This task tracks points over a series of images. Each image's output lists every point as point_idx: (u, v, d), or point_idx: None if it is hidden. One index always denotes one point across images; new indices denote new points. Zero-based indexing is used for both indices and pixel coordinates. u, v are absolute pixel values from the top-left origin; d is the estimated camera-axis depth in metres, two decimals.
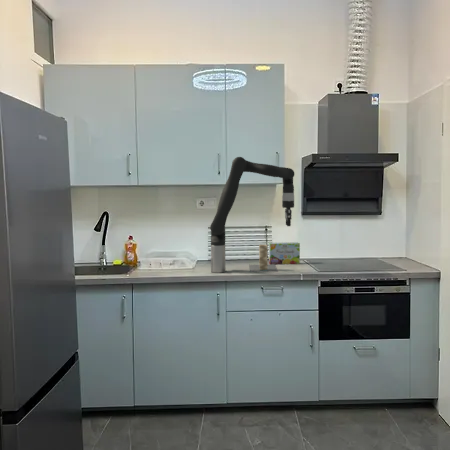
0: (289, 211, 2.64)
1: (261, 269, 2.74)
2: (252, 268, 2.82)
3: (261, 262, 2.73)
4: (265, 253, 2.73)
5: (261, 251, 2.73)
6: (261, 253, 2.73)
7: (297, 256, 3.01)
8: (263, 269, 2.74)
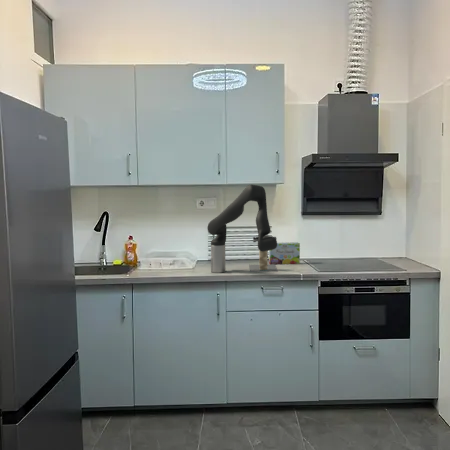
0: (253, 240, 2.55)
1: (261, 269, 2.74)
2: (252, 268, 2.82)
3: (261, 262, 2.73)
4: (265, 253, 2.73)
5: (261, 251, 2.73)
6: (261, 253, 2.73)
7: (297, 256, 3.01)
8: (263, 269, 2.74)
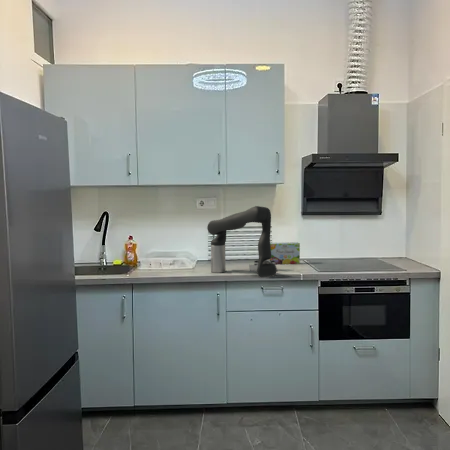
0: None
1: None
2: (252, 268, 2.82)
3: None
4: None
5: None
6: None
7: (297, 256, 3.01)
8: None
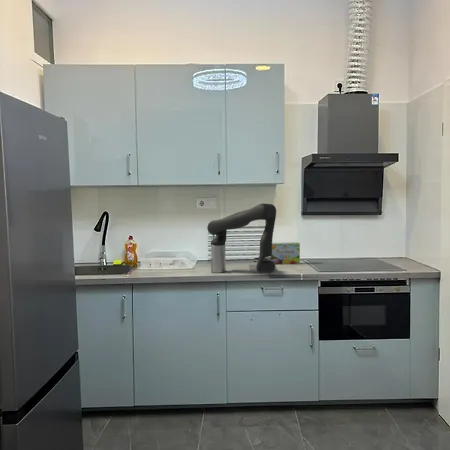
0: None
1: None
2: (252, 268, 2.82)
3: None
4: None
5: None
6: None
7: (297, 256, 3.01)
8: None
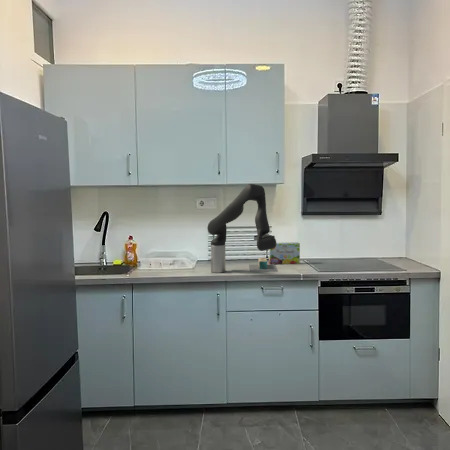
0: None
1: (261, 261, 2.79)
2: (252, 268, 2.82)
3: (260, 260, 2.84)
4: (264, 259, 2.89)
5: (260, 258, 2.91)
6: (260, 259, 2.89)
7: (297, 256, 3.01)
8: (263, 261, 2.79)
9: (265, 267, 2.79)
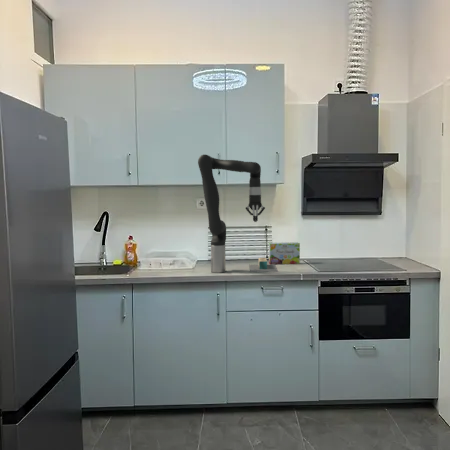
0: (246, 209, 2.70)
1: (261, 261, 2.79)
2: (252, 268, 2.82)
3: (260, 260, 2.84)
4: (264, 259, 2.89)
5: (260, 258, 2.91)
6: (260, 259, 2.89)
7: (297, 256, 3.01)
8: (263, 261, 2.79)
9: (265, 267, 2.79)
